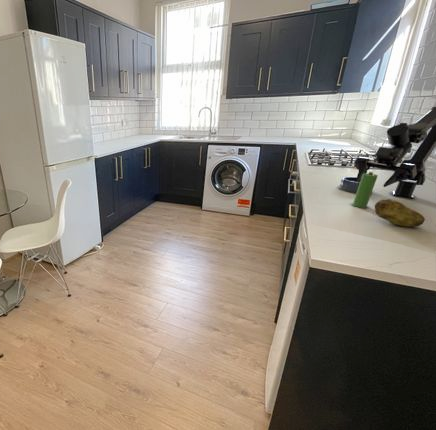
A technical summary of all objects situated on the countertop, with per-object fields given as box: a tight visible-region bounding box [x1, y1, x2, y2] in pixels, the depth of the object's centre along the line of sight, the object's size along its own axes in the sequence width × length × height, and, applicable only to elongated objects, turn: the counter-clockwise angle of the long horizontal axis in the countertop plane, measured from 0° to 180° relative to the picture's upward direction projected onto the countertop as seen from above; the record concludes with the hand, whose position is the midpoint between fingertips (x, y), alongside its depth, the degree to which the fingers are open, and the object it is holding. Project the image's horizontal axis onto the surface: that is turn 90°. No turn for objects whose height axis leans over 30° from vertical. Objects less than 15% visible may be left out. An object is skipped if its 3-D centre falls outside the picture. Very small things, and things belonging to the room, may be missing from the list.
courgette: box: [352, 171, 379, 209], centre depth 111 cm, size 4×4×14 cm
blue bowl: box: [338, 176, 361, 194], centre depth 133 cm, size 12×12×5 cm
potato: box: [374, 198, 426, 228], centre depth 96 cm, size 8×13×8 cm, turn 38°
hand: (369, 183), depth 111 cm, fingers open, 9 cm apart
